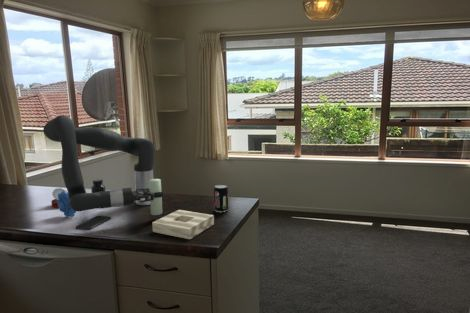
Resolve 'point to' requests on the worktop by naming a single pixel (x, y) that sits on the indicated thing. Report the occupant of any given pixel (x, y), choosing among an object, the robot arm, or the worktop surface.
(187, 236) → the socket block
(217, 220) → the worktop surface
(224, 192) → the beverage can
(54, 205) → the canned food
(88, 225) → the phone
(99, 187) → the supplement bottle
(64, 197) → the grapes
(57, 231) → the worktop surface
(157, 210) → the peg
